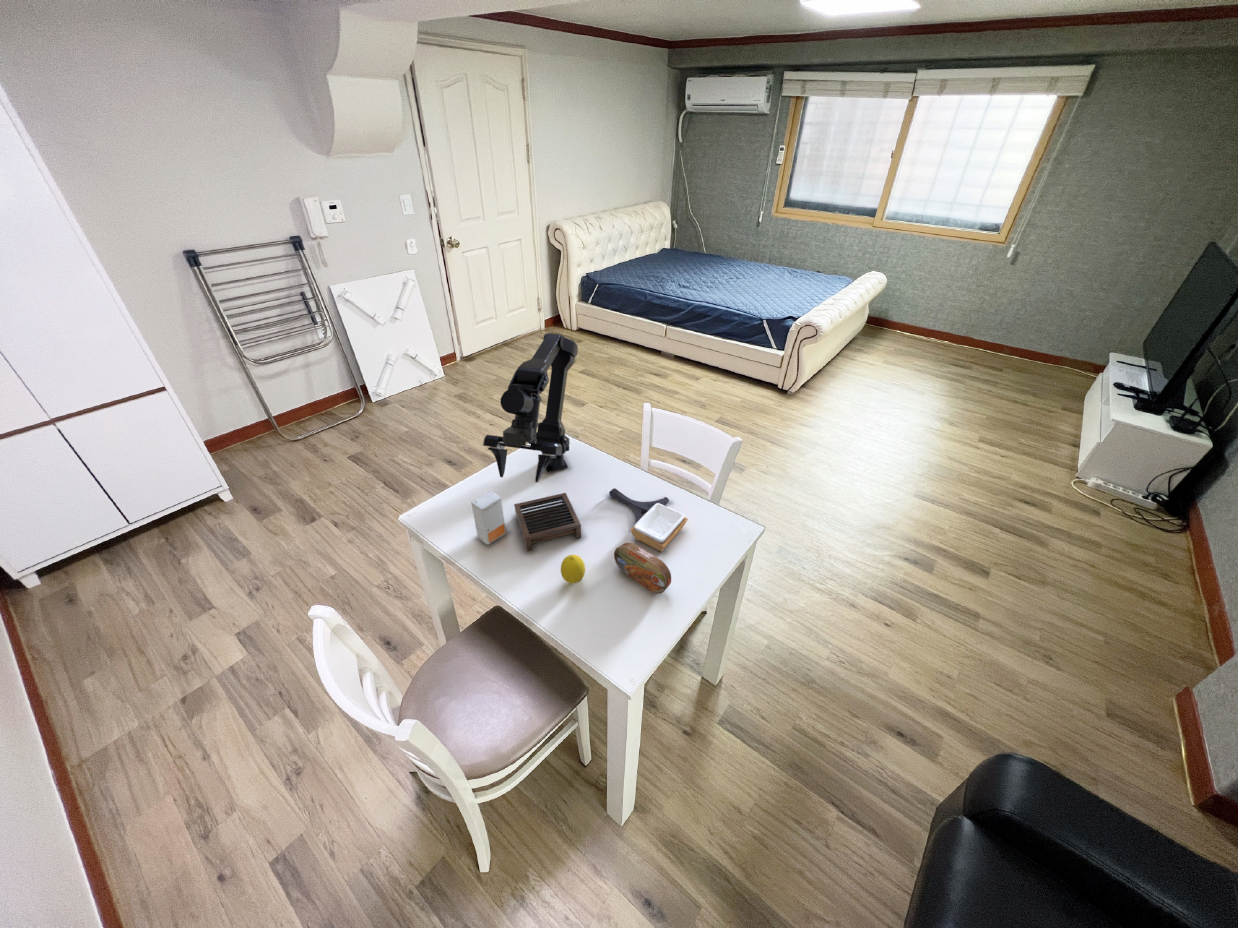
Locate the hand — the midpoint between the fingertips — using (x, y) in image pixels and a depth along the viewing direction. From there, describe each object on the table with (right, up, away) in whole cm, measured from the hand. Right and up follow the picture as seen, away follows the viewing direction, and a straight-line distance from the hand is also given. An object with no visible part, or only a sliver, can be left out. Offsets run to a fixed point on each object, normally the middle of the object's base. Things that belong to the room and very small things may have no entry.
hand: (519, 479), depth 121 cm
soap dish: (+35, -14, +5) cm, 38 cm away
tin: (+30, -23, -8) cm, 39 cm away
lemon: (+14, -23, -8) cm, 29 cm away
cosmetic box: (-7, -15, +3) cm, 17 cm away
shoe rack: (+6, -13, +6) cm, 15 cm away
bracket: (+29, -8, +14) cm, 33 cm away
